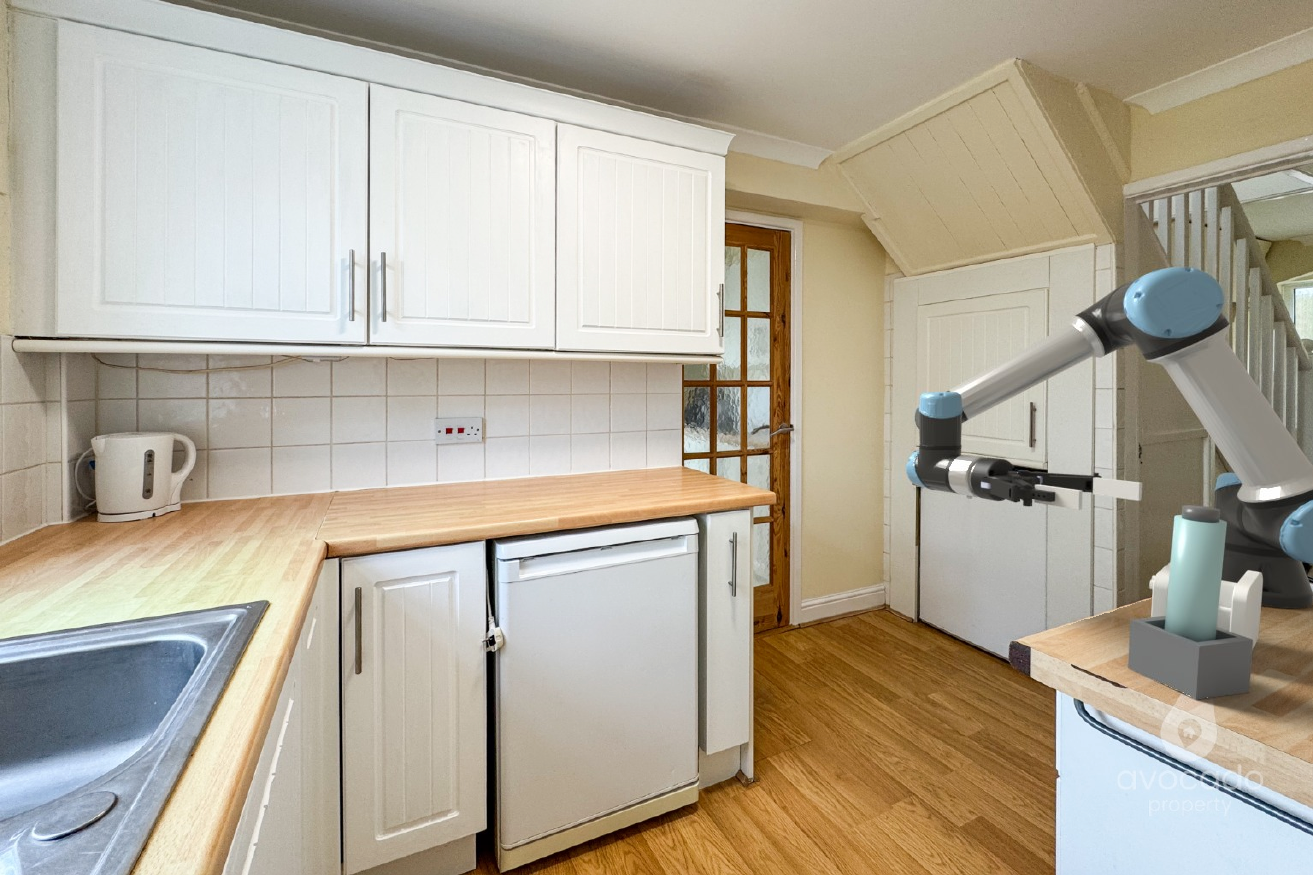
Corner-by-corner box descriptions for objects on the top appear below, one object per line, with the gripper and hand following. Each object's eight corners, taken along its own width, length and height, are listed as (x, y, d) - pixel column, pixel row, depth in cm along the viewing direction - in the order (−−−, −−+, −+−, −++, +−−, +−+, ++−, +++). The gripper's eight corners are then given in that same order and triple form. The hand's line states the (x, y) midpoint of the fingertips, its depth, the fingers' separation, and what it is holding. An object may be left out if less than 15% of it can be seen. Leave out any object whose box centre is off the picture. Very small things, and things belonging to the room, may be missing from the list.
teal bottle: (1180, 667, 81) (1195, 503, 78) (1221, 686, 76) (1238, 511, 73) (1151, 671, 80) (1165, 505, 77) (1190, 690, 75) (1207, 513, 72)
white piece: (1243, 675, 79) (1249, 592, 78) (1144, 648, 87) (1148, 573, 86) (1259, 644, 88) (1265, 569, 87) (1168, 622, 96) (1172, 554, 95)
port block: (1177, 661, 83) (1180, 614, 82) (1249, 691, 74) (1253, 639, 74) (1127, 667, 81) (1130, 619, 80) (1195, 699, 73) (1199, 646, 72)
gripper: (1030, 491, 109) (1162, 512, 90) (931, 504, 101) (1052, 530, 81) (1031, 452, 109) (1164, 464, 89) (931, 462, 100) (1054, 477, 80)
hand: (1111, 495), depth 85 cm, fingers open, 13 cm apart
